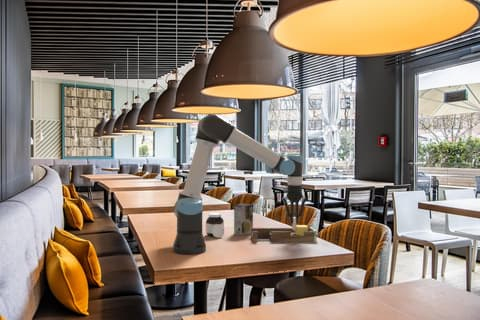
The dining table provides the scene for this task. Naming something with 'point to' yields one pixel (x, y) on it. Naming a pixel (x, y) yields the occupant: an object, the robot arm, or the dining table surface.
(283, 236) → the box
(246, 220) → the coffee box
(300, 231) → the block
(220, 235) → the spread jar
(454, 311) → the dining table surface
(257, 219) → the dining table surface
